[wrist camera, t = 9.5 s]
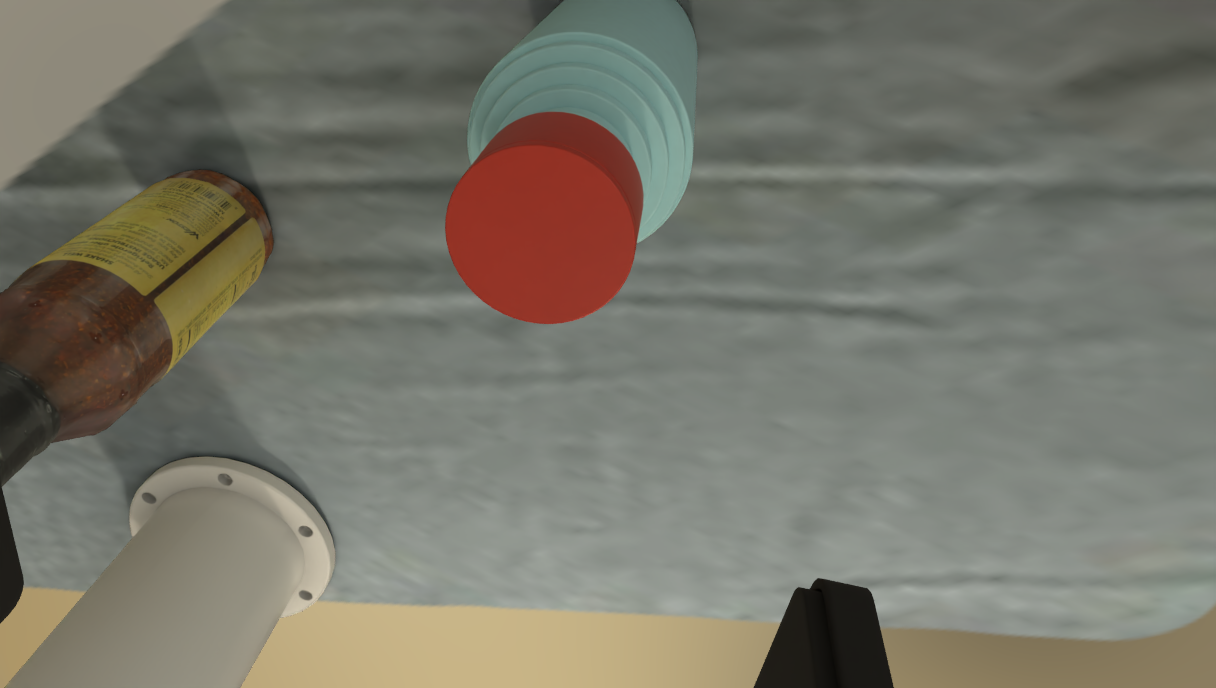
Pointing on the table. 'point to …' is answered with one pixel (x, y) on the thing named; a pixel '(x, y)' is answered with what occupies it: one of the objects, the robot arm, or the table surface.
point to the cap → (547, 218)
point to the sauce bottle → (121, 308)
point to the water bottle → (606, 87)
